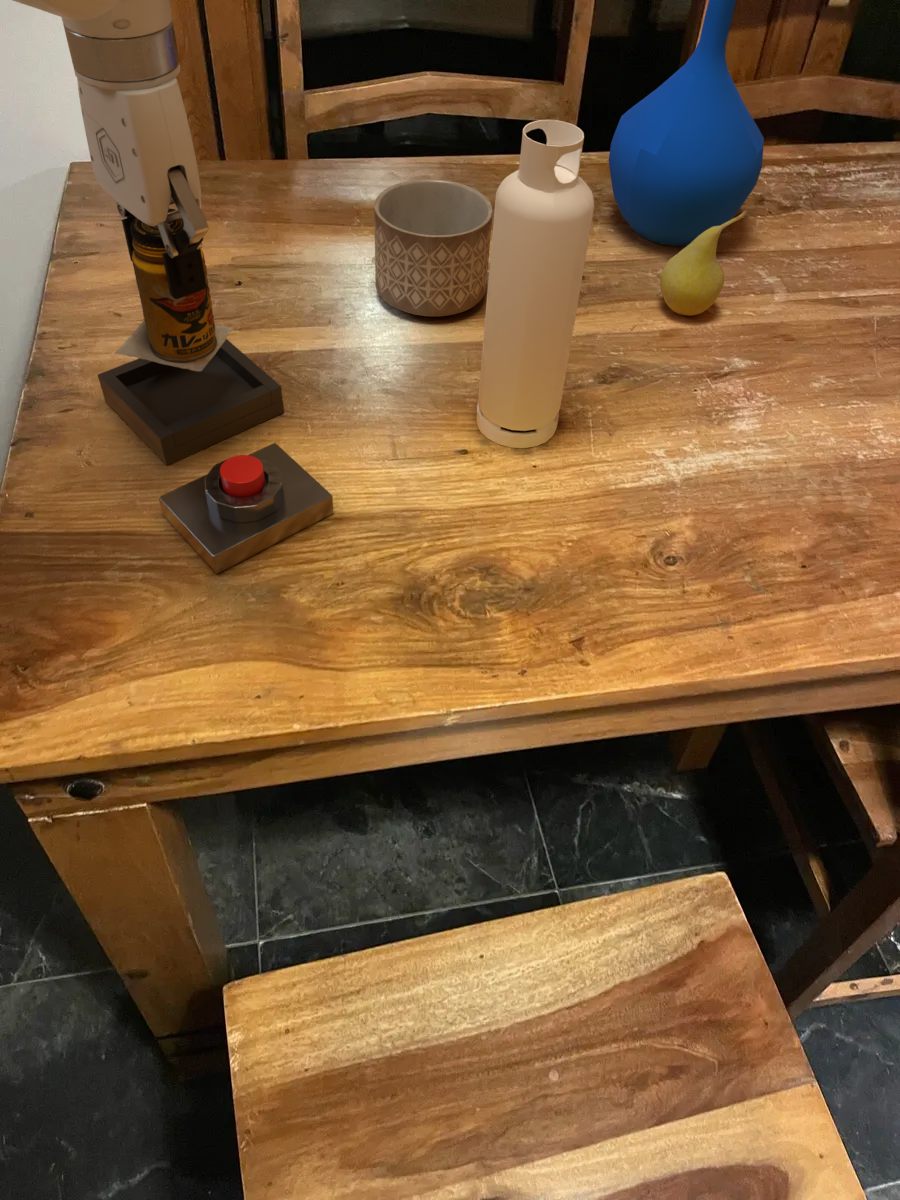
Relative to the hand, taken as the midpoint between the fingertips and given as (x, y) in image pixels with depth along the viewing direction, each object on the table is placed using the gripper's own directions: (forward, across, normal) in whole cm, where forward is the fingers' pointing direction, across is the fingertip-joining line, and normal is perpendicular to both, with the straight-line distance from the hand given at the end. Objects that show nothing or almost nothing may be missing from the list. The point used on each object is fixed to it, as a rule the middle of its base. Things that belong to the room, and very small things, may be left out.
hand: (168, 273), depth 81 cm
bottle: (+15, +21, +24) cm, 35 cm away
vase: (+15, +4, +67) cm, 69 cm away
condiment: (+8, -1, 0) cm, 8 cm away
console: (+14, +16, -4) cm, 22 cm away
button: (+11, +16, -4) cm, 20 cm away
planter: (+15, -2, +32) cm, 35 cm away
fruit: (+15, +18, +54) cm, 59 cm away
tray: (+14, 0, 0) cm, 14 cm away
